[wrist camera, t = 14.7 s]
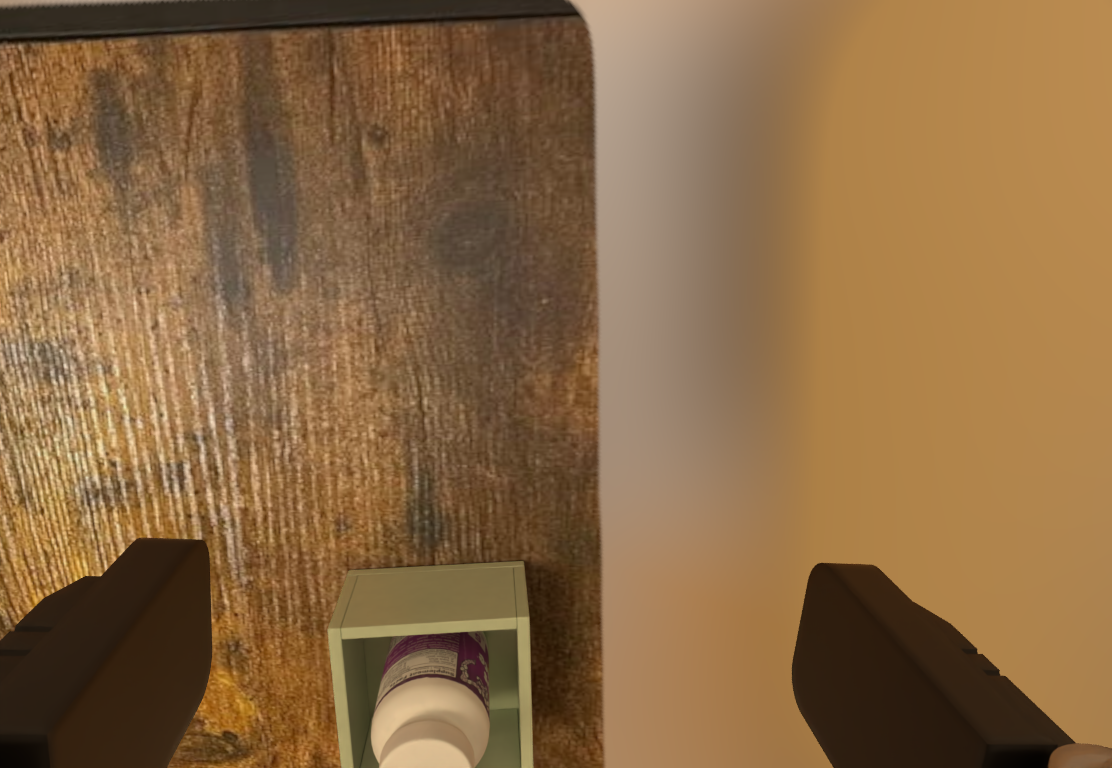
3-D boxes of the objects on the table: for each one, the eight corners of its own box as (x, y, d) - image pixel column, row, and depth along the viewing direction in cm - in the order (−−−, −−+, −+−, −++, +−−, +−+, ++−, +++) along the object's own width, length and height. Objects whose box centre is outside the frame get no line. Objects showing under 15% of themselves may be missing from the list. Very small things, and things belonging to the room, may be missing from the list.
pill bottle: (497, 681, 42) (500, 823, 33) (399, 699, 42) (375, 846, 32) (480, 594, 41) (478, 715, 31) (379, 612, 40) (347, 739, 31)
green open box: (362, 720, 43) (343, 798, 37) (348, 569, 40) (326, 629, 35) (528, 709, 43) (534, 783, 38) (524, 560, 41) (529, 617, 36)
